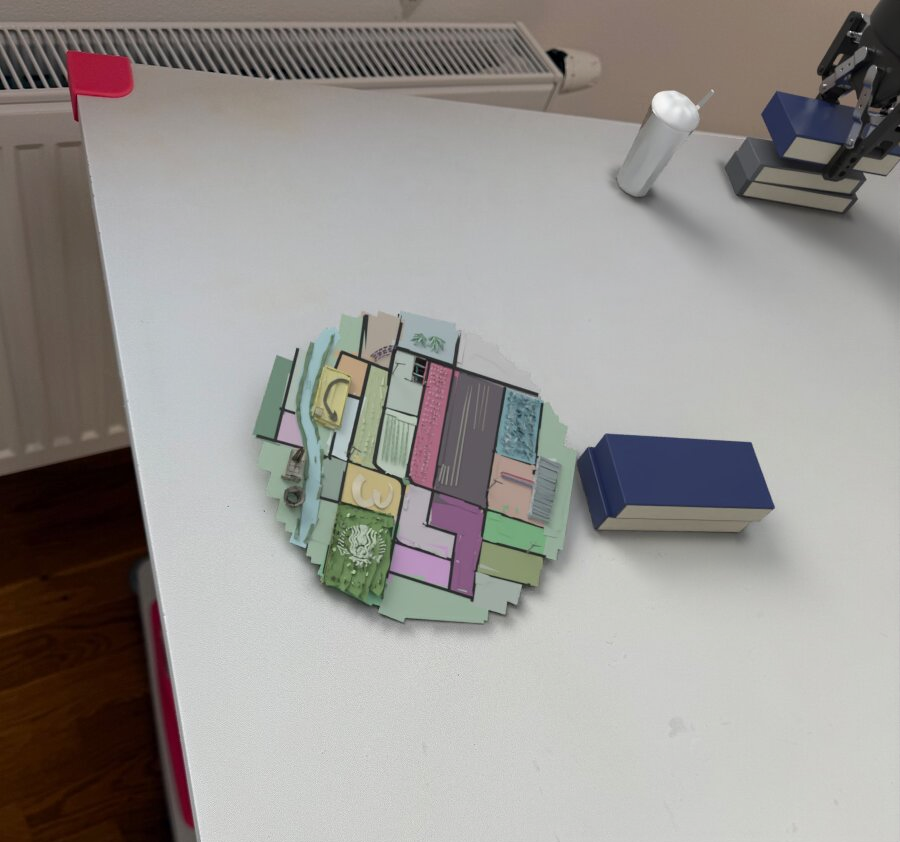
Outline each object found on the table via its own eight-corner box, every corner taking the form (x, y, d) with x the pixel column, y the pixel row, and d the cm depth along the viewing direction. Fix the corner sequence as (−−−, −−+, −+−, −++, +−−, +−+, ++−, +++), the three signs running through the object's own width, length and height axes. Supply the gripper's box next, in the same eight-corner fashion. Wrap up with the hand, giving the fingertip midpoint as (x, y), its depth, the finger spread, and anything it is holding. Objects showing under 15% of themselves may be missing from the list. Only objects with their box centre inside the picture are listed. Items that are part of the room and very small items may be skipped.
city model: (257, 656, 60) (278, 626, 55) (204, 329, 66) (218, 274, 61) (597, 620, 70) (642, 591, 65) (523, 340, 77) (559, 293, 71)
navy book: (865, 135, 99) (882, 113, 97) (886, 177, 96) (904, 155, 94) (760, 114, 94) (776, 90, 92) (780, 158, 92) (796, 134, 90)
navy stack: (722, 468, 78) (751, 439, 75) (745, 535, 76) (775, 508, 72) (575, 461, 73) (599, 430, 70) (595, 533, 71) (620, 504, 68)
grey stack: (832, 184, 103) (857, 153, 100) (846, 216, 102) (872, 185, 98) (722, 164, 98) (745, 131, 95) (735, 197, 96) (759, 164, 93)
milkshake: (667, 200, 92) (726, 109, 84) (624, 204, 90) (680, 111, 82) (645, 166, 94) (700, 73, 85) (602, 168, 91) (655, 73, 83)
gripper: (1009, 53, 80) (872, 212, 95) (942, -53, 86) (823, 111, 101) (941, 35, 78) (810, 201, 92) (877, -73, 84) (764, 99, 98)
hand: (817, 153), depth 96 cm, fingers closed on navy book, 6 cm apart
